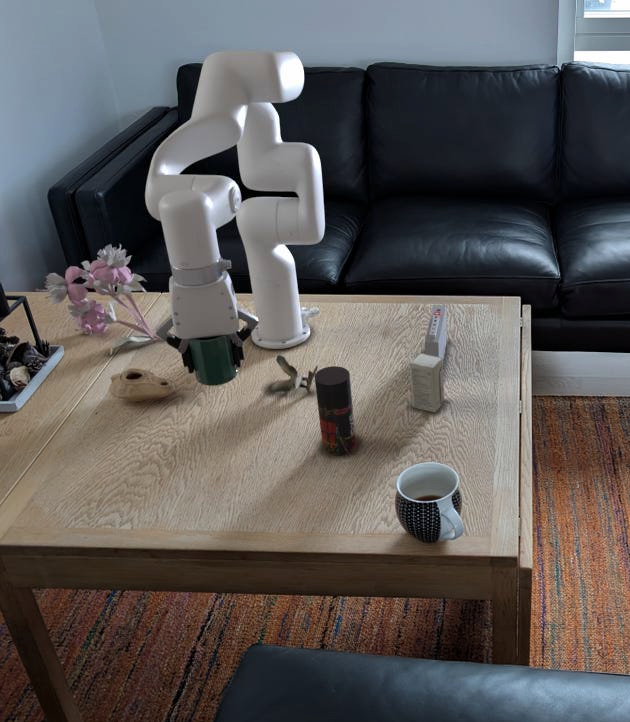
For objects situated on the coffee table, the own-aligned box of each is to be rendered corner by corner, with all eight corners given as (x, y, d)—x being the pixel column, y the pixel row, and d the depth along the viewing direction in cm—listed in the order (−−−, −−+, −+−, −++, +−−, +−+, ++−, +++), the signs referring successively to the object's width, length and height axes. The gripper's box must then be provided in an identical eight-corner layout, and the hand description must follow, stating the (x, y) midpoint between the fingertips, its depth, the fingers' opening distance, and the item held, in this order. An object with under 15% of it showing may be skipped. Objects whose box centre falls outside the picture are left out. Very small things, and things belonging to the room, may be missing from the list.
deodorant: (324, 436, 152) (315, 366, 144) (356, 434, 152) (350, 365, 144) (321, 456, 147) (313, 385, 139) (355, 454, 147) (348, 384, 139)
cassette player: (434, 341, 181) (433, 300, 176) (446, 341, 181) (446, 301, 176) (425, 380, 168) (424, 337, 163) (439, 380, 168) (438, 338, 163)
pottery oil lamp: (166, 411, 157) (140, 388, 153) (122, 416, 163) (96, 394, 158) (185, 375, 163) (161, 352, 158) (143, 381, 168) (118, 359, 164)
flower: (171, 297, 195) (98, 213, 180) (195, 329, 177) (116, 238, 163) (99, 350, 191) (18, 269, 176) (116, 388, 173) (28, 301, 158)
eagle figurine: (321, 373, 168) (279, 361, 168) (316, 359, 161) (272, 346, 162) (307, 407, 165) (264, 395, 165) (301, 394, 158) (257, 381, 159)
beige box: (445, 401, 162) (444, 357, 156) (434, 413, 158) (433, 368, 153) (421, 395, 163) (420, 351, 158) (410, 407, 160) (409, 362, 155)
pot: (222, 359, 144) (214, 316, 140) (245, 374, 140) (238, 330, 136) (188, 375, 140) (178, 331, 135) (210, 390, 136) (201, 346, 132)
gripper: (253, 255, 135) (267, 348, 144) (140, 265, 131) (162, 361, 141) (254, 274, 129) (269, 371, 138) (136, 286, 125) (159, 385, 134)
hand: (215, 365), depth 139 cm, fingers closed on pot, 7 cm apart
